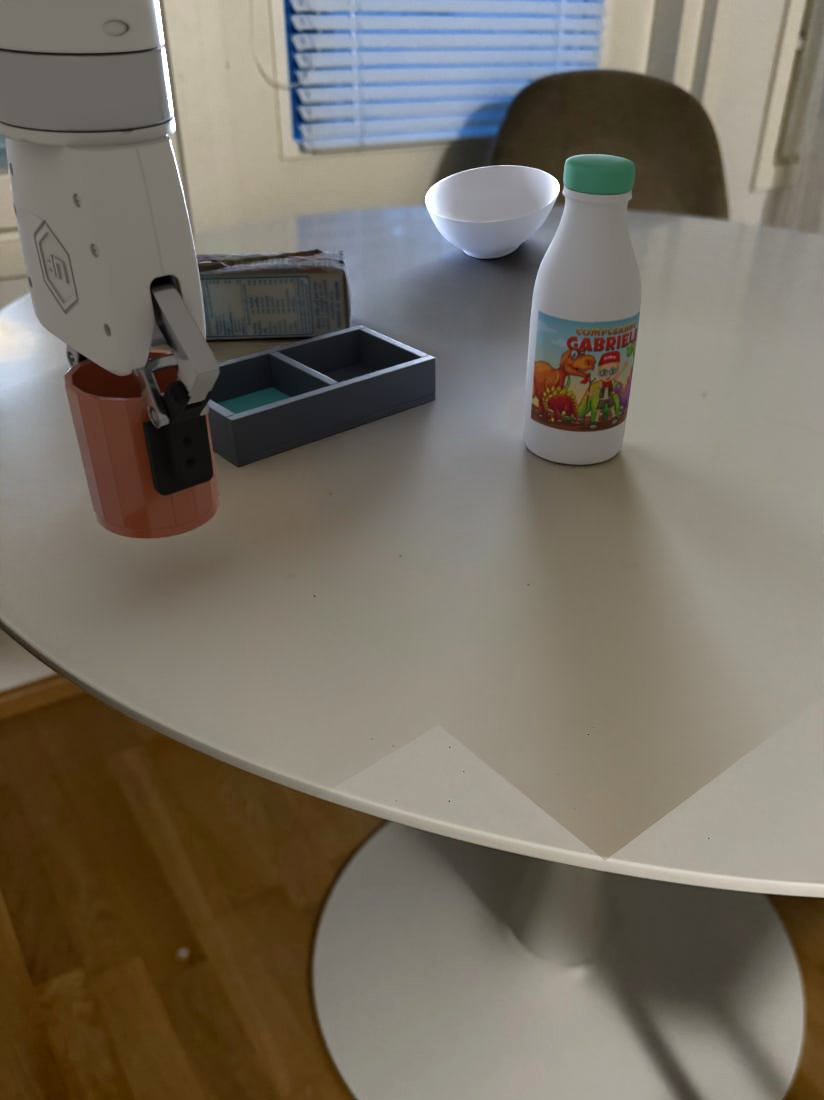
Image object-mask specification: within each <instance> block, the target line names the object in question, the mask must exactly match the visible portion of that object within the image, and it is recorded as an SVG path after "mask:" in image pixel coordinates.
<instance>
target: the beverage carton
mask: <svg viewBox="0 0 824 1100" xmlns="http://www.w3.org/2000/svg"><path fill="white" fill-rule="evenodd" d="M196 258H197V264H198V269H199V275H200V282H201V289H202V296H203V304H204V313H205V324H206V341H214V340H245V339H247V340H248V339H249V340H250V339H251V340H252V339H253V340H254V339H255V340H256V339H275V338H298V337H299V338H313V337H317V336H321V335H325V334H328V333H332V332H336V331H340V330H343V329H347V328H351V323H352V321H351V320H352V303H353V300H352V286H351V278H350V273H349V267H348V263H347V258H346V254H345V252H344V251H343V250H340V251H335V250H333V251H330V250H329V251H326V250H321V249H319V248H314V249H308V250H300V251H295V252H292V251H285V252H284V251H283V252H262V253H261V252H252V253H210V254H209V253H201V254H197V253H196Z"/></svg>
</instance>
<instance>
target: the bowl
mask: <svg viewBox="0 0 824 1100" xmlns="http://www.w3.org/2000/svg"><path fill="white" fill-rule="evenodd" d="M559 193H560V183H559V181H558V179H557V178H556V177H554V176H553V175H551V173H548V172H546V171H544V170H542V169H539V168H536V167H535V168H534V167H529V166H523V165H510V164H506V165H505V164H503V165H499V164H498V165H488V166H481V167H476V168H470V169H466V170H462V171H459V172H455V173H454V174H451V175H449V176H446V177H445V178H443V179H441V180H439V181H438V182H436V183H435V184H433V185H432V186H431V187H430V188H429V190H428V191H427V192H426V194H425V199H424V202H425V206H426V209H427V211H428V214H429V216H430V218H431V220H432V222H433V224H434V226H435V227H436V229H437V231H438V232H439V233H440V234H441V236H442V237H443V238H444V239H445V240H446V241H448V242H449V243H450V244H452V246H455V247H456V248H458V249H459V250H461V251H463V252H464V253H465V254H466V255H468V256H469V257H472V258H476V259H483V260H489V259H497V258H501V257H504V256H508V255H510V254H512V253H513V252H515V251H516V250H517V249H518V248H519V247H520V246H521V245H522V244H523V243H525V242H526V241H527V240H529V239H530V238H531V237H532V236H534V234H535V233H536V232H537V231H538V230H539V229H540V228H541V227H542V226H543V224H544V223H545V222H546V220H547V219H548V217H549V215H550V213H551V211H552V209H553V207H554V205H555V203H556V201H557V199H558V197H559Z"/></svg>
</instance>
